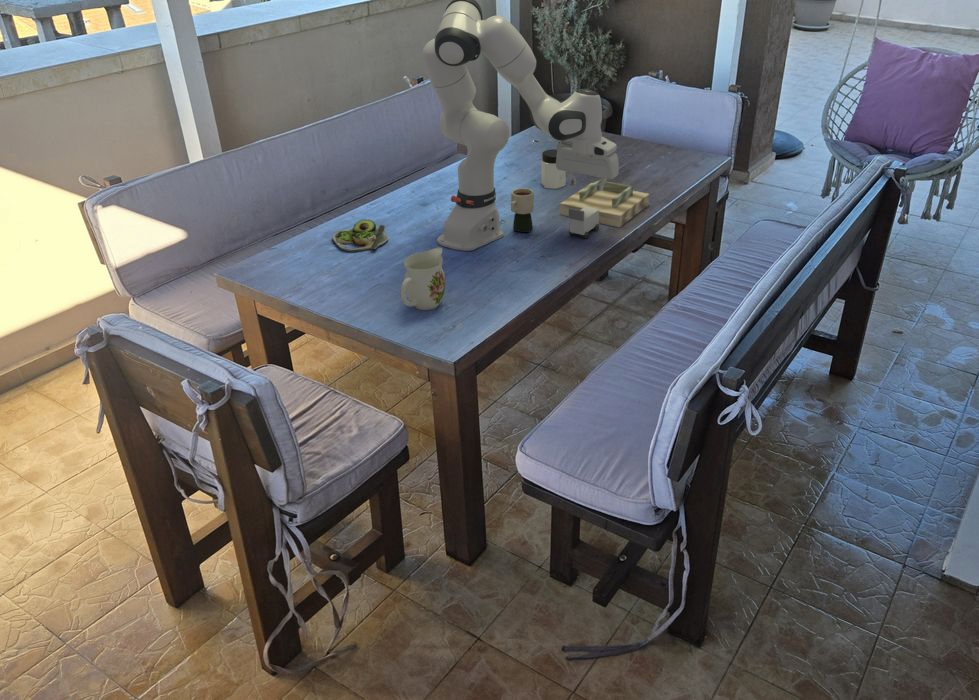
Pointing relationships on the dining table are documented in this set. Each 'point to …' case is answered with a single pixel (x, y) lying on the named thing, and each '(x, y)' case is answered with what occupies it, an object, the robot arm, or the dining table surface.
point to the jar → (551, 171)
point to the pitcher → (424, 280)
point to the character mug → (522, 208)
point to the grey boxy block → (583, 221)
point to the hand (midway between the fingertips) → (586, 187)
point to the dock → (608, 202)
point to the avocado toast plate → (361, 236)
